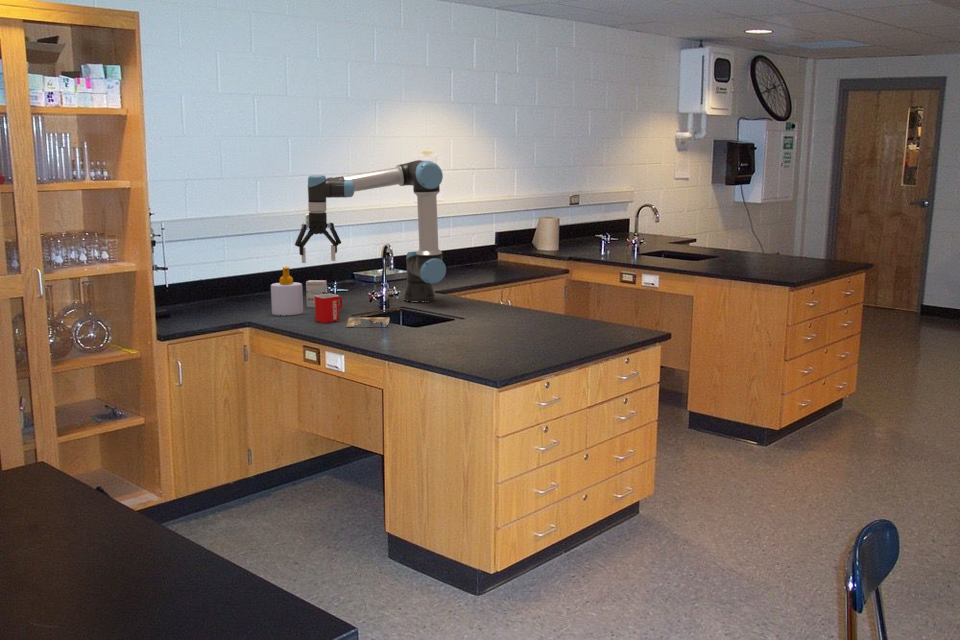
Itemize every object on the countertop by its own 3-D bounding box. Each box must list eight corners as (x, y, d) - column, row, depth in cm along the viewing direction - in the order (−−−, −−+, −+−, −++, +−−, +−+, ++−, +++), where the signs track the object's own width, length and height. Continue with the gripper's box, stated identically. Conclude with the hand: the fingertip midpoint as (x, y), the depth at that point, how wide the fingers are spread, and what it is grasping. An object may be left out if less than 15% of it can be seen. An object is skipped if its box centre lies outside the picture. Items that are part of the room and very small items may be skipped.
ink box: (328, 305, 424) (327, 280, 421) (325, 307, 419) (324, 281, 417) (309, 305, 425) (308, 279, 422) (306, 307, 420) (305, 281, 417)
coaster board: (389, 318, 396) (389, 317, 396) (388, 327, 379) (388, 325, 379) (349, 319, 395) (349, 317, 395) (345, 327, 378) (345, 326, 378)
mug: (325, 323, 386) (324, 298, 384) (313, 320, 392) (312, 295, 390) (348, 319, 394) (347, 294, 392) (336, 316, 400) (336, 292, 398)
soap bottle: (272, 316, 400) (269, 269, 396) (272, 312, 408) (270, 266, 404) (303, 315, 403) (301, 268, 399) (302, 311, 411) (301, 265, 407)
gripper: (340, 210, 406) (341, 258, 410) (286, 212, 393) (287, 262, 397) (348, 211, 400) (349, 260, 404) (292, 213, 387) (294, 264, 391)
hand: (318, 261), depth 401 cm, fingers open, 13 cm apart
